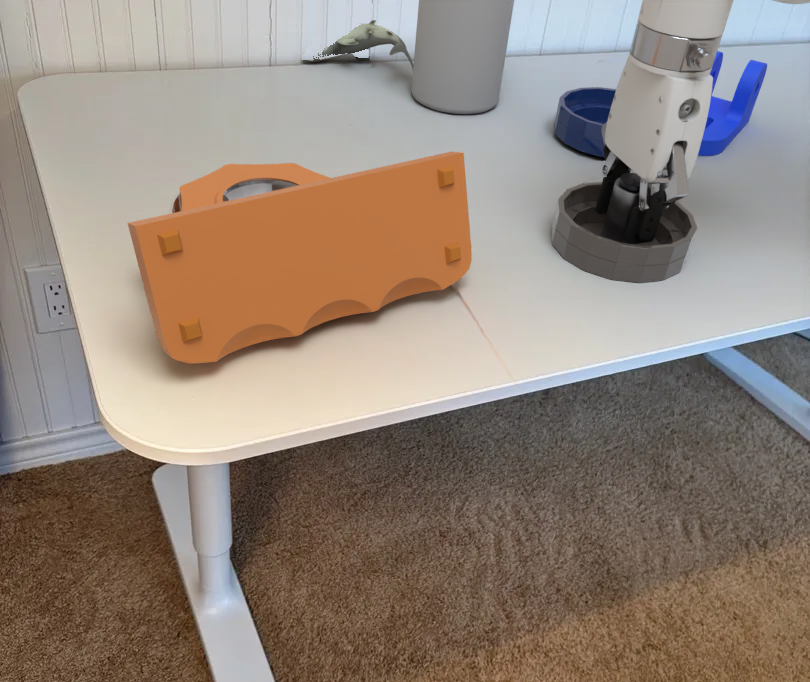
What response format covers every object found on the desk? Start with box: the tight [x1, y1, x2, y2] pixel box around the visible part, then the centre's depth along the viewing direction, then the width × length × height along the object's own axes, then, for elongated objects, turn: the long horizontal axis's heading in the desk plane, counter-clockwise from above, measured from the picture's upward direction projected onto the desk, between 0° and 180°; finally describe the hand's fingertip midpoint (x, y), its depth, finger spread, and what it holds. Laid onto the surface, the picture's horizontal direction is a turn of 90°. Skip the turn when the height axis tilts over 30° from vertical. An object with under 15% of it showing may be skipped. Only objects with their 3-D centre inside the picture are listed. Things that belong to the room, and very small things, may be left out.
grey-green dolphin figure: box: [313, 19, 414, 70], centre depth 124 cm, size 14×17×8 cm
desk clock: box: [127, 151, 473, 365], centre depth 76 cm, size 12×30×20 cm
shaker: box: [601, 172, 656, 245], centre depth 86 cm, size 4×4×8 cm
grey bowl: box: [550, 181, 698, 284], centre depth 87 cm, size 14×14×4 cm
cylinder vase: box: [411, 0, 515, 115], centre depth 110 cm, size 12×12×25 cm
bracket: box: [698, 50, 768, 157], centre depth 113 cm, size 18×8×9 cm, turn 148°
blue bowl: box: [553, 86, 617, 159], centre depth 110 cm, size 14×14×4 cm
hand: (623, 225), depth 87 cm, fingers open, 5 cm apart
